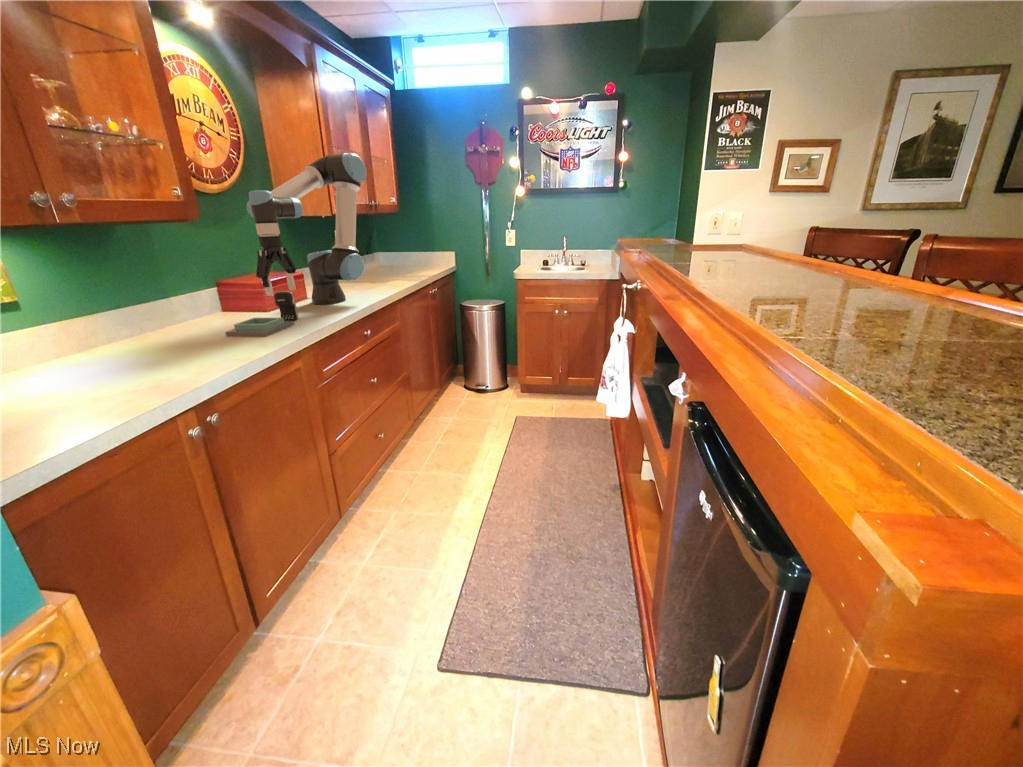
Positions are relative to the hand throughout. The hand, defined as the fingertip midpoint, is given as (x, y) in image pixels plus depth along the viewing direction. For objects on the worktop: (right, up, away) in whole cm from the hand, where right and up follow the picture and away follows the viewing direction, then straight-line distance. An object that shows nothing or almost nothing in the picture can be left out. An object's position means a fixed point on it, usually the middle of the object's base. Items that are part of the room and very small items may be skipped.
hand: (281, 292), depth 171 cm
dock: (-3, -16, -9) cm, 18 cm away
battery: (+1, -10, +5) cm, 11 cm away
